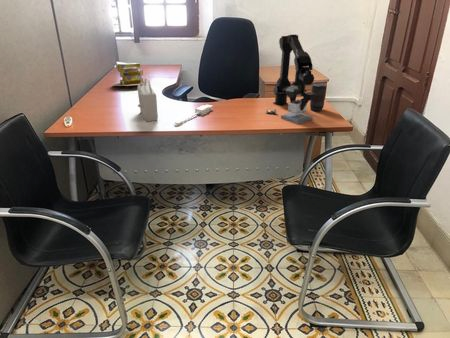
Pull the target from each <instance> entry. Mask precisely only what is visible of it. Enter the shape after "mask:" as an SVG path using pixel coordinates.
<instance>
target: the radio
mask: <svg viewBox="0 0 450 338" xmlns="http://www.w3.org/2000/svg"><path fill="white" fill-rule="evenodd" d="M142 70H143V69H140V68H139V71H140V74H141V83H140V84H139V85H137V93H138V94H137V95H138V100H139V101H138V102H139V104H137V107H138V108H139V109H140V110H139V113H140V114H141V117H143V119H144V121H145V122H153V121H158V120H159V119H158V118H159V115H158V113H159V112H158V101H157V94H156V93H155V91H154V90H153V88H152V86H151V82H150V80H149V77H145V78H144V82H145V84H143V83H142V76H143V75H142ZM146 82H148V83H146Z"/></svg>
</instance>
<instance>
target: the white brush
mask: <svg viewBox="0 0 450 338" xmlns="http://www.w3.org/2000/svg"><path fill="white" fill-rule="evenodd" d="M213 108H214V107H213V105H212V104H211V105H210V104H205V105H201V106H199V107H196V108H195V110H194V111H195V112H194V113H193V114H192V115H190V116H188V117H186V118H185V119H183V120H177V121H176V122H174V124H173V126H174V127H177V126H178V127H180V126H182V125H183V123H184V122H186V121H187V120H189V119H191V118H193V117H195V116H196V115H200V116H204V115H206V114H208V113H210V111H211V110H212V109H213Z"/></svg>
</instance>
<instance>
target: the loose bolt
mask: <svg viewBox="0 0 450 338" xmlns="http://www.w3.org/2000/svg"><path fill="white" fill-rule="evenodd" d="M265 112H266V114H268V115H269V114H271V115H276V114H277V109H276V108H275V109H273V110H268V109H267V110H266V111H265Z"/></svg>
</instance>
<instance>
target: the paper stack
mask: <svg viewBox="0 0 450 338" xmlns="http://www.w3.org/2000/svg"><path fill="white" fill-rule="evenodd" d="M113 68H115V69H117V72H118V73H119V78H122V79H119V82H117V83H114V84H112V86H113V87H114V86H115V87H116V86H117V87H118V86H119V87H121V86H122V87H123V86H125V87H126V88H127V89H128V87H129V86H138V85H140V83H141V74H140V70H139V69H140V68H141V63H140V62H121V61H116V62H115V65H114V66H113ZM141 70H142V76H144V74H143V73H144V71H143V69H141ZM142 83H143V85H144V84H145V81H144V79H143V78H142ZM146 84H148V81H146Z"/></svg>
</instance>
